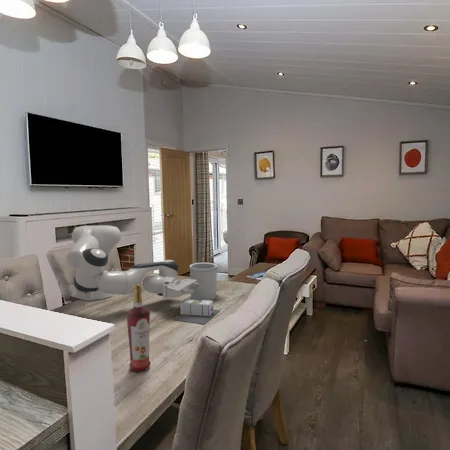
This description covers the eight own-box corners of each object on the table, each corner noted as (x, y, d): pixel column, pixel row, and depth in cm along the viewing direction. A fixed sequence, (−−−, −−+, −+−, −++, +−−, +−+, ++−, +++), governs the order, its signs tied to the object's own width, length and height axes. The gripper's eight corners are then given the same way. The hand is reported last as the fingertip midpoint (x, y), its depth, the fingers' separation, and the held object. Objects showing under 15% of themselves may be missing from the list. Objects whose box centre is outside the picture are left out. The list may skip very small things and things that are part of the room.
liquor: (133, 376, 111) (130, 289, 108) (125, 366, 117) (122, 284, 114) (155, 369, 115) (152, 285, 112) (146, 360, 121) (143, 281, 118)
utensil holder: (221, 299, 187) (221, 266, 185) (194, 302, 181) (193, 269, 179) (212, 291, 200) (211, 261, 198) (186, 294, 195) (186, 263, 193)
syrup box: (180, 314, 164) (210, 317, 161) (180, 302, 163) (210, 304, 160) (184, 310, 169) (213, 312, 166) (184, 298, 168) (213, 300, 165)
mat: (174, 320, 158) (174, 319, 158) (192, 307, 174) (192, 306, 174) (204, 324, 152) (204, 323, 152) (220, 310, 169) (220, 310, 169)
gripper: (182, 287, 182) (206, 289, 177) (161, 298, 163) (187, 302, 158) (182, 275, 181) (206, 277, 176) (161, 285, 162) (187, 288, 157)
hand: (197, 289), depth 167 cm, fingers open, 8 cm apart
